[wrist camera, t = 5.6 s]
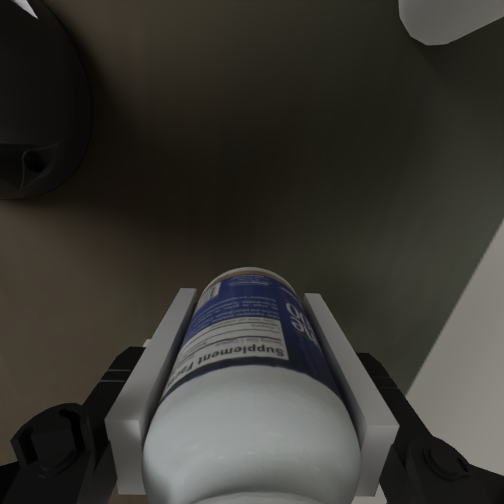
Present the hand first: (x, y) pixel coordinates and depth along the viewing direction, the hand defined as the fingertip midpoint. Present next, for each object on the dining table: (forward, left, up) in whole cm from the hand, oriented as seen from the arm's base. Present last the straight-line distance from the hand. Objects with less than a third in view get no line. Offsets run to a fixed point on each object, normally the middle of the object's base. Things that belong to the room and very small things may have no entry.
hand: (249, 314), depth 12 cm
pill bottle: (0, 0, -1) cm, 1 cm away
